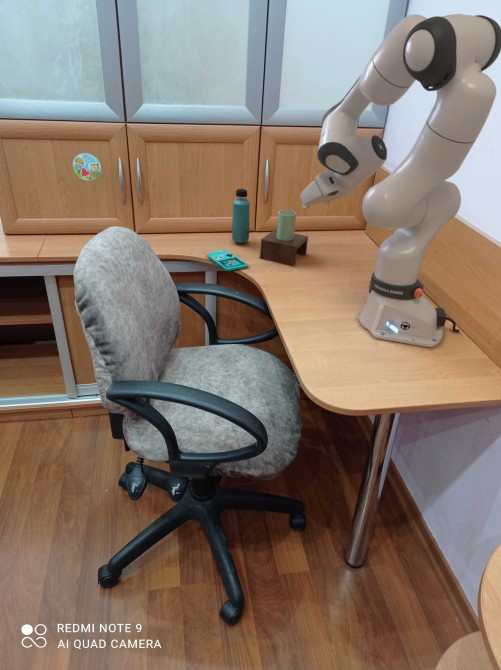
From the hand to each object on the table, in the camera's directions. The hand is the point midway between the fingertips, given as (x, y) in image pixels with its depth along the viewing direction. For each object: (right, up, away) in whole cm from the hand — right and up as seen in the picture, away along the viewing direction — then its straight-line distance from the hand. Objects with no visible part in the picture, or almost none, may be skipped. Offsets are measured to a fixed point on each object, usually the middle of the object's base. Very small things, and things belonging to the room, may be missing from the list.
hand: (314, 204), depth 151 cm
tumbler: (-8, -7, +16) cm, 19 cm away
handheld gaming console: (-29, -16, +13) cm, 36 cm away
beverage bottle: (-24, -7, +29) cm, 38 cm away
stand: (-9, -13, +20) cm, 25 cm away
